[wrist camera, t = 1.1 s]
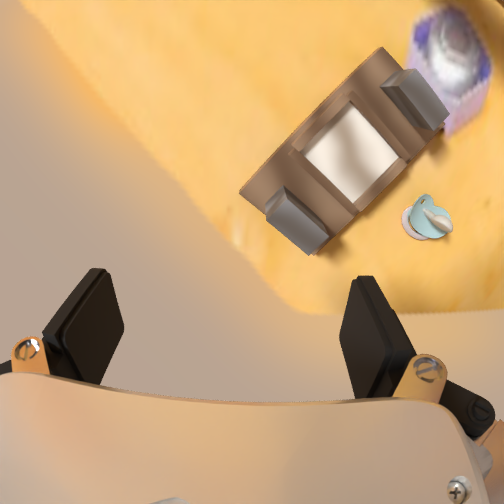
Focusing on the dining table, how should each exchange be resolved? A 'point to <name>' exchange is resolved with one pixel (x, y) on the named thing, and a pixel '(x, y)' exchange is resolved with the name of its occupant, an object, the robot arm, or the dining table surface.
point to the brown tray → (346, 151)
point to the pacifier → (426, 219)
